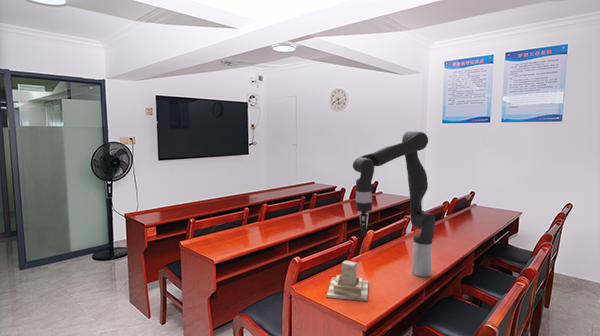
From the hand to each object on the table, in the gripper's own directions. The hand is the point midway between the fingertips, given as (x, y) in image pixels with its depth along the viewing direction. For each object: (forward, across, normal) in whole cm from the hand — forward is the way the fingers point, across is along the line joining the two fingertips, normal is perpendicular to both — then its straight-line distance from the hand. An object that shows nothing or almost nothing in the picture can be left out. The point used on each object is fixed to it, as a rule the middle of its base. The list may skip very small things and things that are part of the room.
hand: (364, 233), depth 160 cm
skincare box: (+26, -5, +7) cm, 27 cm away
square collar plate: (+26, -5, +8) cm, 28 cm away
